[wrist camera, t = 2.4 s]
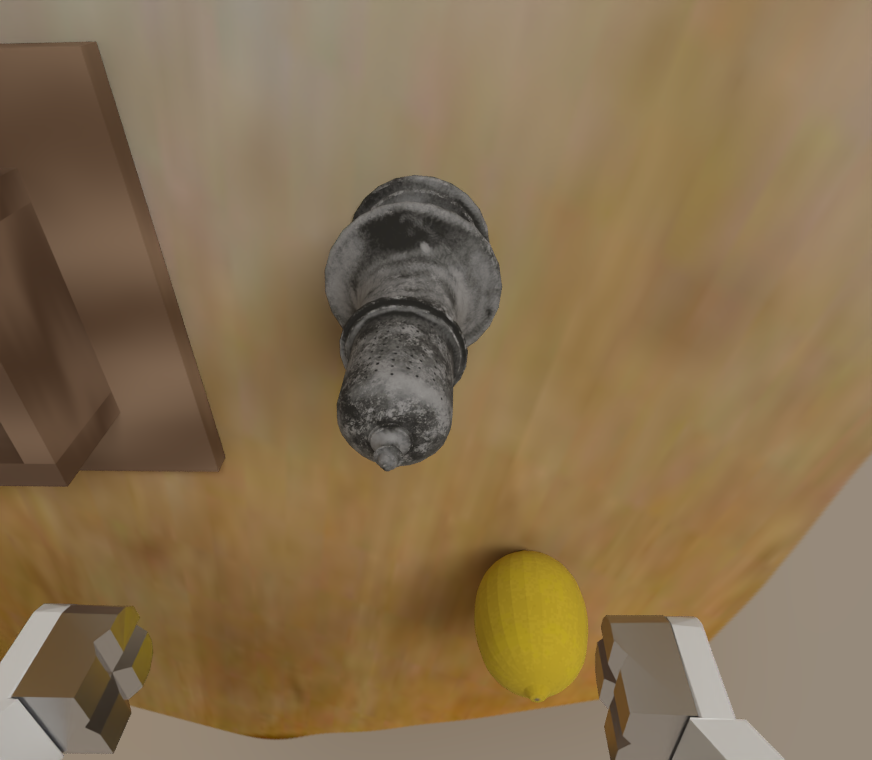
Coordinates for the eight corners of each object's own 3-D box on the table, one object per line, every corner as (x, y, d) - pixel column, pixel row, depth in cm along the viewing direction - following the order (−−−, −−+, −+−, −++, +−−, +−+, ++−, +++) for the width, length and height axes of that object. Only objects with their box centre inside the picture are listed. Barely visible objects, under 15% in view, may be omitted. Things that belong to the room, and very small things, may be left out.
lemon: (504, 505, 31) (515, 653, 25) (595, 539, 33) (627, 688, 26) (455, 565, 34) (453, 711, 28) (540, 593, 36) (557, 739, 29)
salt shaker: (425, 338, 26) (402, 585, 16) (310, 248, 23) (202, 471, 14) (530, 242, 23) (578, 468, 13) (411, 130, 21) (364, 303, 11)
